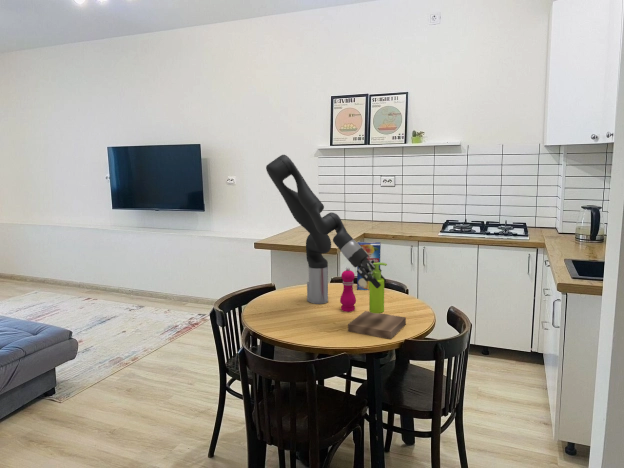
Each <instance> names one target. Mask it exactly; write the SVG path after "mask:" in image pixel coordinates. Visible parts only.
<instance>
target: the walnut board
mask: <svg viewBox="0 0 624 468" xmlns="http://www.w3.org/2000/svg"><path fill="white" fill-rule="evenodd" d="M406 322H407V317H405V316H399V315H394V314H393V315H392V314H386V313H372V312H370V311H368V310H364V312H362V313H360V314H359V315H358V316H356V317H355V318H354V319H352V321H350V322H349V323H348V324H347V332H350V333H356V334H360V335H361V334H362V335H366V336H372V337H377V338H382V339H387V340H392V339H393V338H394V337H395V336H396V335H397V334H398V333H399V332H400V330H401V329H402V328H403V327H405V326H406Z"/></svg>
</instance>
